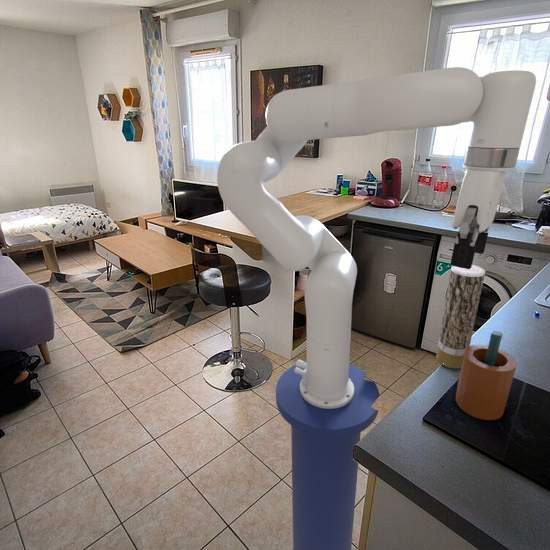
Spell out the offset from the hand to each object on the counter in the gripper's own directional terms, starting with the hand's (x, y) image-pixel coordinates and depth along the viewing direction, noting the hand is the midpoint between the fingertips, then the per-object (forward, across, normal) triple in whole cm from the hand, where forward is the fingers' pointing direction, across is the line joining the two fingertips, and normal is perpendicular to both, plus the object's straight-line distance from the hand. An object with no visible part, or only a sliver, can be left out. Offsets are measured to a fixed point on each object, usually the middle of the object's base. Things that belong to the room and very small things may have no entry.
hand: (467, 259), depth 65 cm
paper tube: (+33, -17, -2) cm, 37 cm away
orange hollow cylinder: (+33, -5, +7) cm, 34 cm away
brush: (+32, -5, +8) cm, 33 cm away
